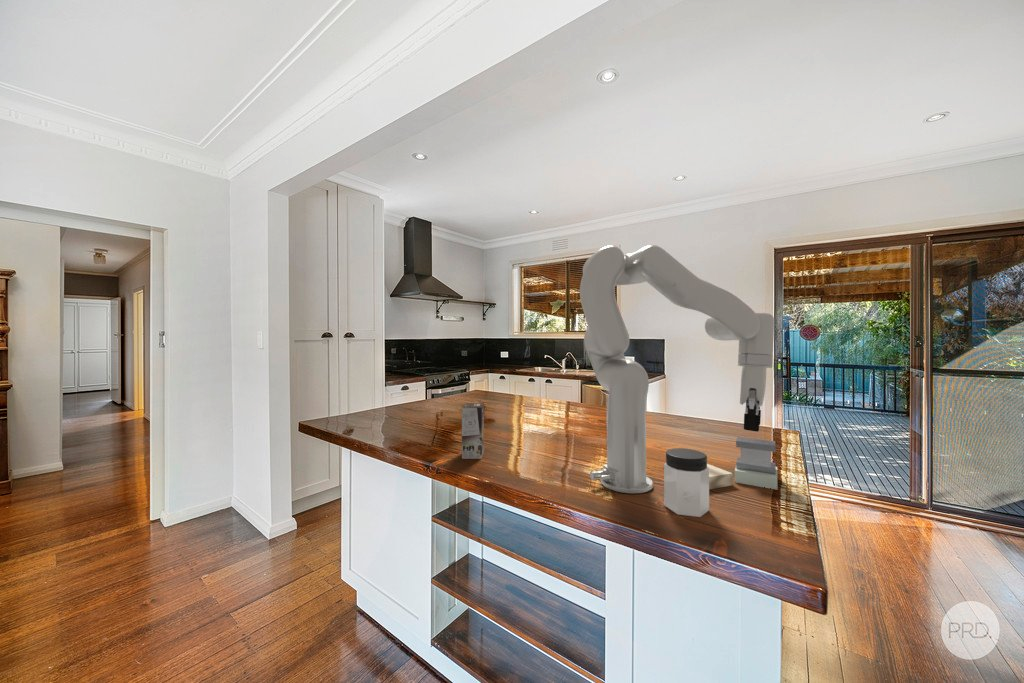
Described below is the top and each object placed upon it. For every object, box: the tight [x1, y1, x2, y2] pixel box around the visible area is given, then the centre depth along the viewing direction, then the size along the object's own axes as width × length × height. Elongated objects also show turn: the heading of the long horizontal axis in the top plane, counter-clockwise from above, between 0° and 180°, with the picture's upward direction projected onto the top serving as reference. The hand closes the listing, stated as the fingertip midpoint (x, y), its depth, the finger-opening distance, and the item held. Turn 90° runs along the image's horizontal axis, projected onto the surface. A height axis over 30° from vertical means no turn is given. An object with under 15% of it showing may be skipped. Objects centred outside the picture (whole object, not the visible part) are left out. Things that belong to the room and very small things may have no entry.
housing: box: [735, 436, 777, 475], centre depth 99 cm, size 8×5×7 cm, turn 56°
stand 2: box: [734, 466, 778, 490], centre depth 99 cm, size 9×9×3 cm
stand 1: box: [707, 463, 734, 490], centre depth 99 cm, size 9×9×3 cm
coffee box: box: [461, 402, 485, 460], centre depth 124 cm, size 9×6×16 cm
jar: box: [663, 447, 710, 518], centre depth 83 cm, size 9×8×12 cm
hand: (752, 427), depth 99 cm, fingers open, 9 cm apart
